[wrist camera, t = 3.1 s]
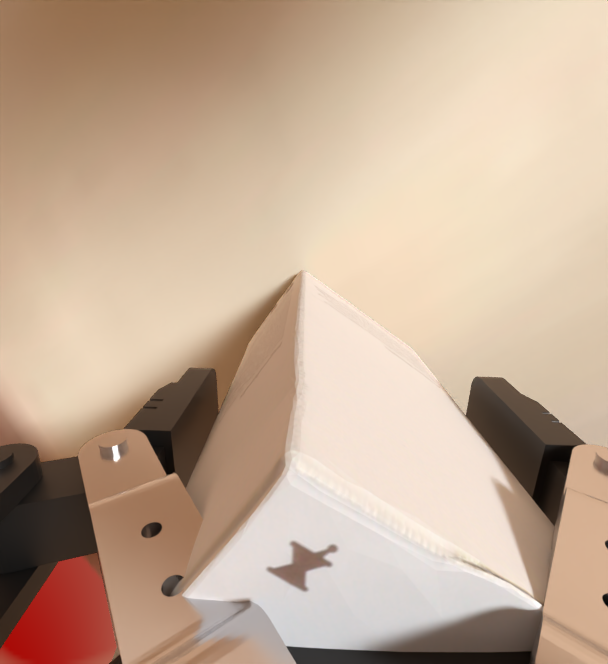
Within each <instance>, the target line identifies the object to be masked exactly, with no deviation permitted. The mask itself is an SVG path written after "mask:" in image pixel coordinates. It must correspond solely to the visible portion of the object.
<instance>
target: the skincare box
mask: <svg viewBox="0 0 608 664" xmlns="http://www.w3.org/2000/svg"><path fill="white" fill-rule="evenodd" d="M186 490H187V492H188V494H189V496H190V497H191V499H192V501H193V503H194V504H195V506H196V508H197V510H198V511H199V513H200V515H201V517H202V519H203V521H202V524H201V527H200V530H199V532H198V535H197V538H196V541H195V544H194V547H193V550H192V553H191V556H190V559H189V562H188V565H187V568H186V572H185V576H184V578H183V579H181V580H180V582H179V583H178V584H177V585H176V587H175V588H174V590H173V591H172V593H171V595H170V597H172V596H175V595H177V594H179V593H180V592H181V591H182V590H183V592H182V596H184V597H186V598H192V599H204V600H216V601H229V602H244V601H252V602H253V603H256V604H258V605H259V606H260V607H261V608H262V609H263V610H264V612H265V613H266V614H267V616H268V617H269V619H270V620H271V622H272V623H273V625H274V627H275V628H276V630H277V632H278V633H279V635H280V637H281V639H282V640H283V642H284V644H285V645H286V646H292V647H306V648H324V649H345V650H369V651H394V652H520V651H532V646H533V642H534V639H535V635H536V632H537V629H538V625H539V622H540V618H541V615H542V611H543V607H544V606H543V603H544V597H545V589H546V582H547V574H548V568H549V563H550V558H551V553H552V550H551V544H552V536H553V531H554V525H553V524H552V523H551V522H550V520H549V519H548V518H547V517H546V515H545V514H544V513H543V512H542V510H541V509H540V508H539V507H538V505H537V504H536V503H535V501H534V500H533V499H532V498H531V496H530V495H529V494H528V493H527V491H526V490H525V489H524V488H523V486H522V485H521V484H520V483H519V481H518V480H517V479H516V478H515V476H514V475H513V474H512V473H511V471H510V470H509V469H508V468H507V466H506V465H505V464H504V463H503V461H502V460H501V459H500V458H499V456H498V455H497V454H496V453H495V451H494V450H493V449H492V448H491V446H490V445H489V444H488V443H487V441H486V440H485V439H484V438H483V436H482V435H481V434H480V433H479V431H478V430H477V429H476V428H475V426H474V425H473V424H472V423H471V422H470V420H469V419H468V418H467V417H466V415H465V414H464V413H463V412H462V410H461V409H460V408H459V407H458V405H457V404H456V403H455V402H454V400H453V399H452V398H451V397H450V395H449V394H448V393H447V392H446V390H445V389H444V388H443V386H442V385H441V384H440V383H439V381H438V380H437V379H436V378H435V376H434V375H433V374H432V373H431V371H430V370H429V369H428V368H427V366H426V365H425V364H424V363H423V361H422V360H421V359H420V358H419V356H418V355H417V354H416V353H415V351H414V350H413V349H412V348H411V347H409V346H408V345H407V344H405V343H404V342H403V341H401V340H400V339H398V338H397V337H396V336H394V335H393V334H392V333H390V332H389V331H387V330H386V329H385V328H383V327H382V326H381V325H379V324H378V323H377V322H375V321H374V320H372V319H371V318H370V317H368V316H367V315H366V314H364V313H363V312H361V311H360V310H359V309H357V308H356V307H355V306H353V305H352V304H350V303H349V302H348V301H346V300H345V299H344V298H342V297H341V296H339V295H338V294H337V293H335V292H334V291H333V290H331V289H330V288H329V287H327V286H326V285H324V284H323V283H322V282H320V281H319V280H318V279H316V278H315V277H314V276H312V275H311V274H309V273H308V272H306V271H304V270H302V271H300V272H299V273H298V275H297V276H296V277H295V279H294V280H293V282H292V283H291V284H290V286H289V287H288V288H287V290H286V291H285V292H284V294H283V295H282V297H281V298H280V299H279V301H278V302H277V303H276V305H275V306H274V308H273V309H272V310H271V312H270V313H269V315H268V316H267V317H266V319H265V320H264V322H263V323H262V324H261V326H260V327H259V329H258V330H257V331H256V333H255V334H254V336H253V337H252V339H251V340H250V342H249V343H248V346H247V349H246V352H245V354H244V356H243V359H242V361H241V363H240V365H239V368H238V370H237V372H236V374H235V377H234V379H233V381H232V384H231V386H230V388H229V390H228V393H227V395H226V397H225V399H224V402H223V404H222V406H221V409H220V411H219V413H218V416H217V418H216V420H215V423H214V425H213V427H212V429H211V432H210V434H209V436H208V439H207V441H206V443H205V445H204V448H203V450H202V452H201V454H200V457H199V459H198V461H197V463H196V467H195V469H194V471H193V473H192V475H191V477H190V480H189V482H188V484H187V487H186ZM183 588H184V589H183ZM119 654H120V652H119V648H118V646H117V649H116V651H115V654H114V657H113V659H112V661H113V660H114V659H115V658H116V657H117V656H118V655H119Z"/></svg>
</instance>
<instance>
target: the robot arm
mask: <svg viewBox="0 0 608 664" xmlns="http://www.w3.org/2000/svg"><path fill="white" fill-rule="evenodd" d="M217 416H218V397H217V380H216V372H215V370H214V369H209V368H189V369H188V370H187V371H186V373H185V374H184V375H183V376H182V378H181V379H180V380H179V381H178V383H170V384H168V385H166V386H164V387H163V388H161V389H159V390H158V391H157V392H156V393H155V394H154V395H153V396H152V397H151V398H150V401H148V402H147V403H146V404H145V405H144V406H143V409H141V410H140V411H139V412H138V413H137V414H136V415H135V417H134V418H133V419H132V420H131V421H130V422H129V423H128V424H127V426H126V427H125V428H124V429H119V430H113V431H109V432H106V433H103V434H100V435H98V436H96V437H94V438H92V439H91V440H89V441H88V442H86V443H85V444H84V445H83V446H82V447H81V449H80V450H79V453H78V456H77V457H72V458H66V459H60V460H53V461H47V462H41V463H40V458H39V454H38V450H37V448H36V447H34V446H32V445H29V444H10V445H5V446H0V648H1V647H2V645H3V644H4V642H5V641H6V639H7V638H8V636H9V634H10V633H11V632H12V630H13V629H14V627H15V626H16V624H17V623H18V621H19V620H20V618H21V617H22V615H23V614H24V612H25V611H26V610H27V608H28V606H29V605H30V603H31V602H32V600H33V599H34V598H35V596H36V595H37V593H38V592H39V590H40V588H41V587H42V586H43V584H44V583H45V581H46V580H47V578H48V577H49V575H50V574H51V572H52V571H53V569H54V568H55V566H56V564H57V563H58V561H62V560H67V559H71V558H75V557H80V556H84V555H88V554H93V553H97V554H98V559H99V564H100V568H101V573H102V578H103V583H104V587H105V592H106V597H107V602H108V606H109V611H110V616H111V621H112V626H113V631H114V636H115V640H116V645H117V646H118V648H119V652H120V654H119V655H118V656H117V657H116V658H115V659H114V660H113V661H111V662H110V663H109V664H608V448H607V447H603V446H598V445H588V444H586V443H584V442H583V441H582V440H581V439H580V438H579V437H578V436H576V435H575V434H574V433H573V432H572V431H571V430H569V429H568V428H567V427H566V426H565V425H564V424H562V423H559V420H558V419H557V418H555V417H554V416H553V415H552V414H549V411H547V410H546V409H545V408H544V407H543V406H542V405H540V404H539V403H538V402H536V401H534V400H532V399H530V398H528V397H526V396H525V395H523V394H521V393H520V392H518V391H517V390H516V389H515V388H514V387H513V386H512V385H511V384H509V383H508V382H507V381H506V380H505V379H504V378H498V377H475V378H474V380H473V382H472V385H471V390H470V396H469V402H468V407H467V413H466V417H467V418H468V419H469V420H470V422H471V423H472V424H473V425H474V426H475V428H476V429H477V430H478V431H479V433H480V434H481V435H482V436H483V438H484V439H485V440H486V441H487V443H488V444H489V445H490V446H491V448H492V449H493V450H494V451H495V453H496V454H497V455H498V456H499V458H500V459H501V460H502V461H503V463H504V464H505V465H506V466H507V468H508V469H509V470H510V471H511V473H512V474H513V475H514V476H515V478H516V479H517V480H518V481H519V483H520V484H521V485H522V486H523V488H524V489H525V490H526V491H527V493H528V494H529V495H530V496H531V498H532V499H533V500H534V501H535V503H536V504H537V505H538V507H539V508H540V509H541V510H542V512H543V513H544V514H545V515H546V517H547V518H548V519H549V520H550V522H551V523H552V524H553V525H554V531H553V536H552V544H551V550H552V553H551V558H550V563H549V568H548V574H547V582H546V589H545V597H544V603H543V606H544V607H543V611H542V615H541V618H540V622H539V625H538V629H537V632H536V635H535V639H534V642H533V646H532V651H520V652H394V651H369V650H345V649H324V648H306V647H292V646H286V645H285V644H284V642H283V640H282V639H281V637H280V635H279V633H278V632H277V630H276V628H275V627H274V625H273V623H272V622H271V620H270V619H269V617H268V616H267V614H266V613H265V612H264V610H263V609H262V608H261V607H260V606H259V605H258V604H256V603H253V602H252V601H244V602H229V601H216V600H204V599H192V598H186V597H184V596H182V592H183V590H182V591H181V592H180V593H179V594H177V595H175V596H172V597H170V595H171V593H172V591H173V590H174V588H175V587H176V585H177V584H178V583H179V582H180V580H181V579H183V578H184V576H185V572H186V568H187V565H188V562H189V559H190V556H191V553H192V550H193V547H194V544H195V541H196V538H197V535H198V532H199V530H200V527H201V524H202V521H203V519H202V517H201V515H200V513H199V511H198V510H197V508H196V506H195V504H194V503H193V501H192V499H191V497H190V496H189V494H188V492H187V490H186V487H187V484H188V482H189V480H190V477H191V475H192V473H193V471H194V469H195V467H196V463H197V461H198V459H199V457H200V454H201V452H202V450H203V448H204V445H205V443H206V441H207V439H208V436H209V434H210V432H211V429H212V427H213V425H214V423H215V420H216V418H217ZM183 589H184V588H183Z"/></svg>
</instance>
